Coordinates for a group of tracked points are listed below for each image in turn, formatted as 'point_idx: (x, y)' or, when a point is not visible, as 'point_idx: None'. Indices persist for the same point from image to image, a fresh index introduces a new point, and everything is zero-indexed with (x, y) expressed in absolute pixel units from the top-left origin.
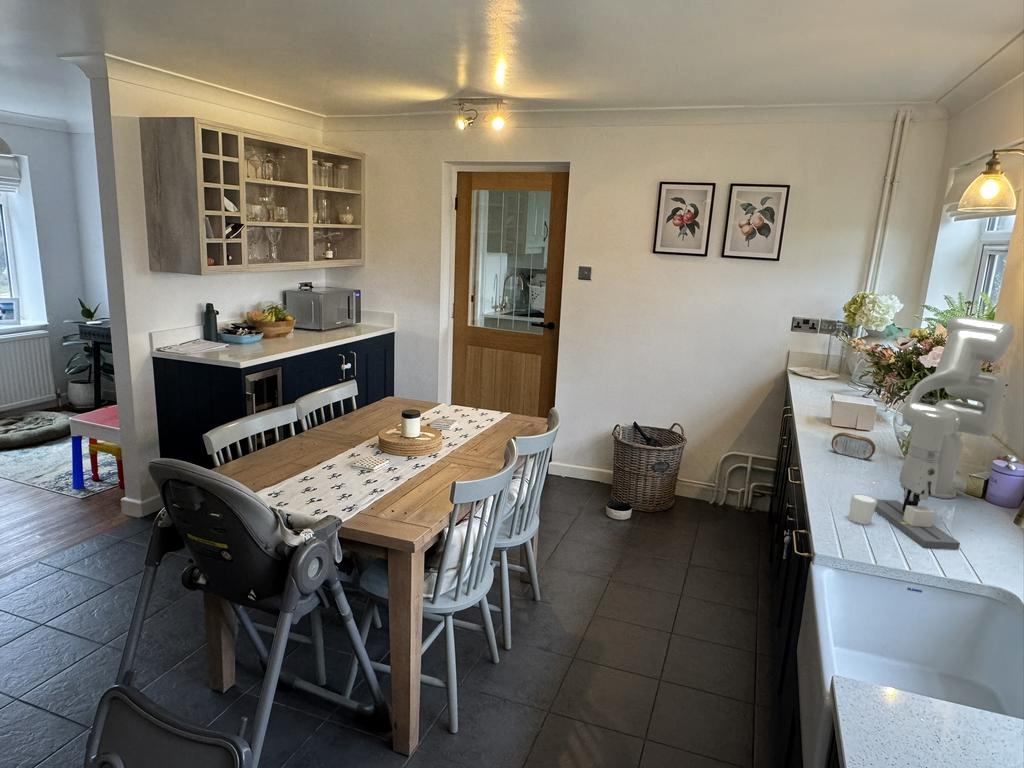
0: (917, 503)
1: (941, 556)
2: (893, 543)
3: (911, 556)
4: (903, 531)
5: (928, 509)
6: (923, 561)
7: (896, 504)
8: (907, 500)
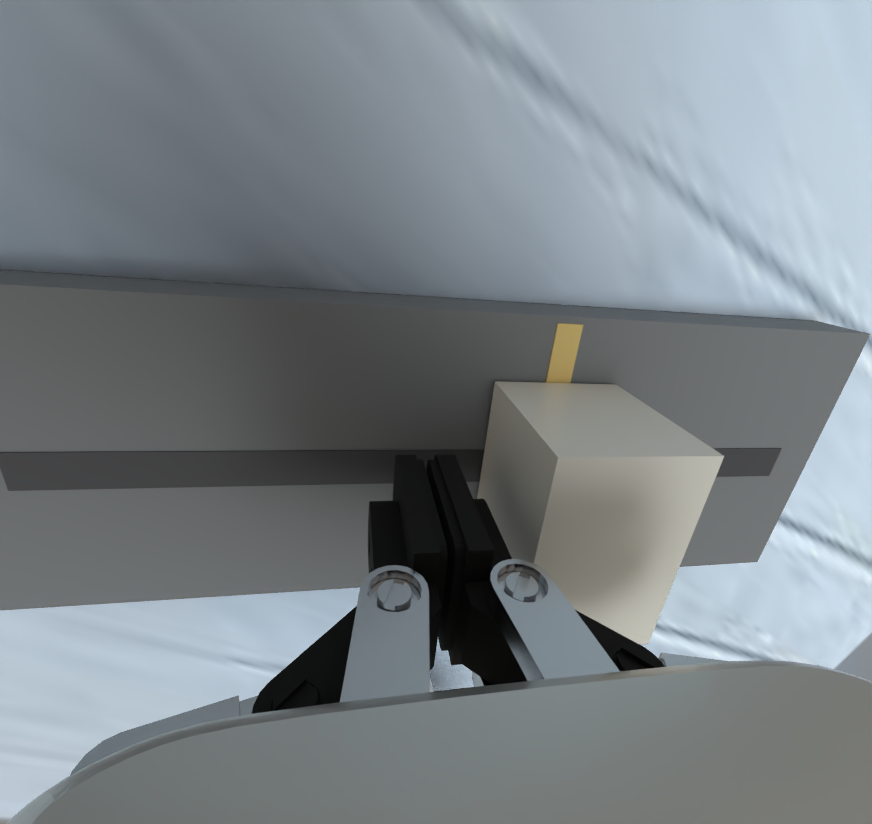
0: (484, 532)
1: (816, 494)
2: (643, 645)
3: (759, 628)
4: None
5: (641, 485)
6: (808, 603)
7: (51, 381)
8: (456, 655)
